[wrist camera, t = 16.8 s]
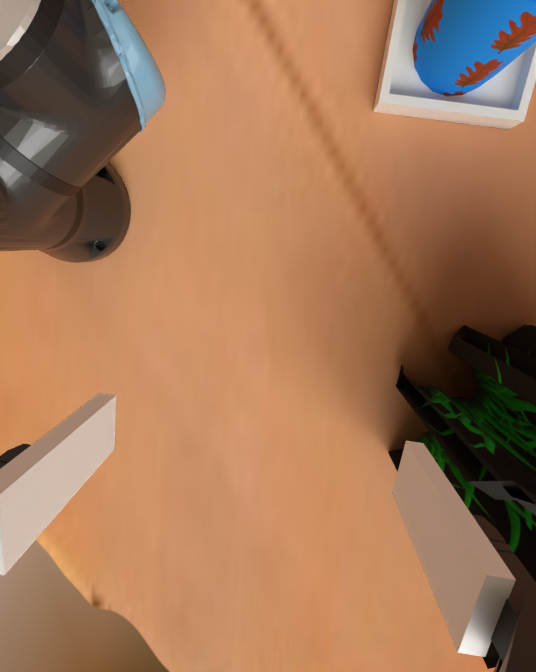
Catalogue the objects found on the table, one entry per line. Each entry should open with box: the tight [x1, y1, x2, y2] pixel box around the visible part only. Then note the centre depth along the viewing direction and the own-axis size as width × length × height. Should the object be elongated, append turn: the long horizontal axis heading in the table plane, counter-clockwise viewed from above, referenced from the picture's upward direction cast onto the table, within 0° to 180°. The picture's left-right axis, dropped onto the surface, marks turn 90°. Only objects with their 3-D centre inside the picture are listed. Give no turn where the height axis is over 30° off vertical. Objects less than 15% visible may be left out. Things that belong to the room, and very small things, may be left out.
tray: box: [373, 0, 536, 129], centre depth 41 cm, size 17×15×3 cm
